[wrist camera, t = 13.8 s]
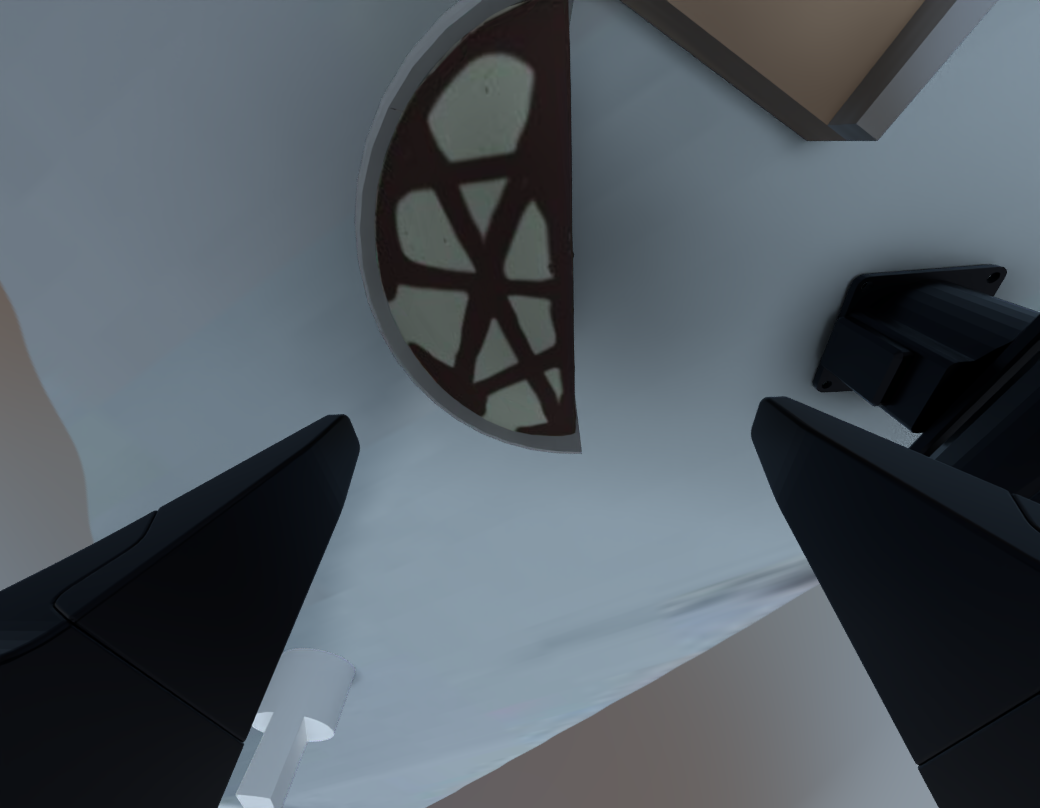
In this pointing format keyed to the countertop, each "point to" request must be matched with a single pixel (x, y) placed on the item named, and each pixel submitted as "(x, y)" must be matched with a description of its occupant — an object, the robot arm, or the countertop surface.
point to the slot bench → (821, 54)
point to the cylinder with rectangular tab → (294, 721)
